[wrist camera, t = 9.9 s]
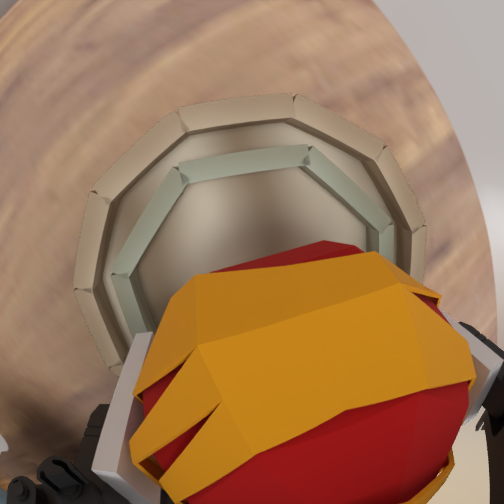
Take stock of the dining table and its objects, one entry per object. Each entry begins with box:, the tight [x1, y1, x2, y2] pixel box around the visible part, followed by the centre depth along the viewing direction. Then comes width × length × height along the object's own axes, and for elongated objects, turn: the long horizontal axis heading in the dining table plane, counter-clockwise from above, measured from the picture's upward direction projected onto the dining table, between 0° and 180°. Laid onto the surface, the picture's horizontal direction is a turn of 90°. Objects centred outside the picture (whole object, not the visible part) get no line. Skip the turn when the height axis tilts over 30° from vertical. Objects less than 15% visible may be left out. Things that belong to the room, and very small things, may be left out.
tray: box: [73, 93, 427, 377], centre depth 16 cm, size 20×20×3 cm
